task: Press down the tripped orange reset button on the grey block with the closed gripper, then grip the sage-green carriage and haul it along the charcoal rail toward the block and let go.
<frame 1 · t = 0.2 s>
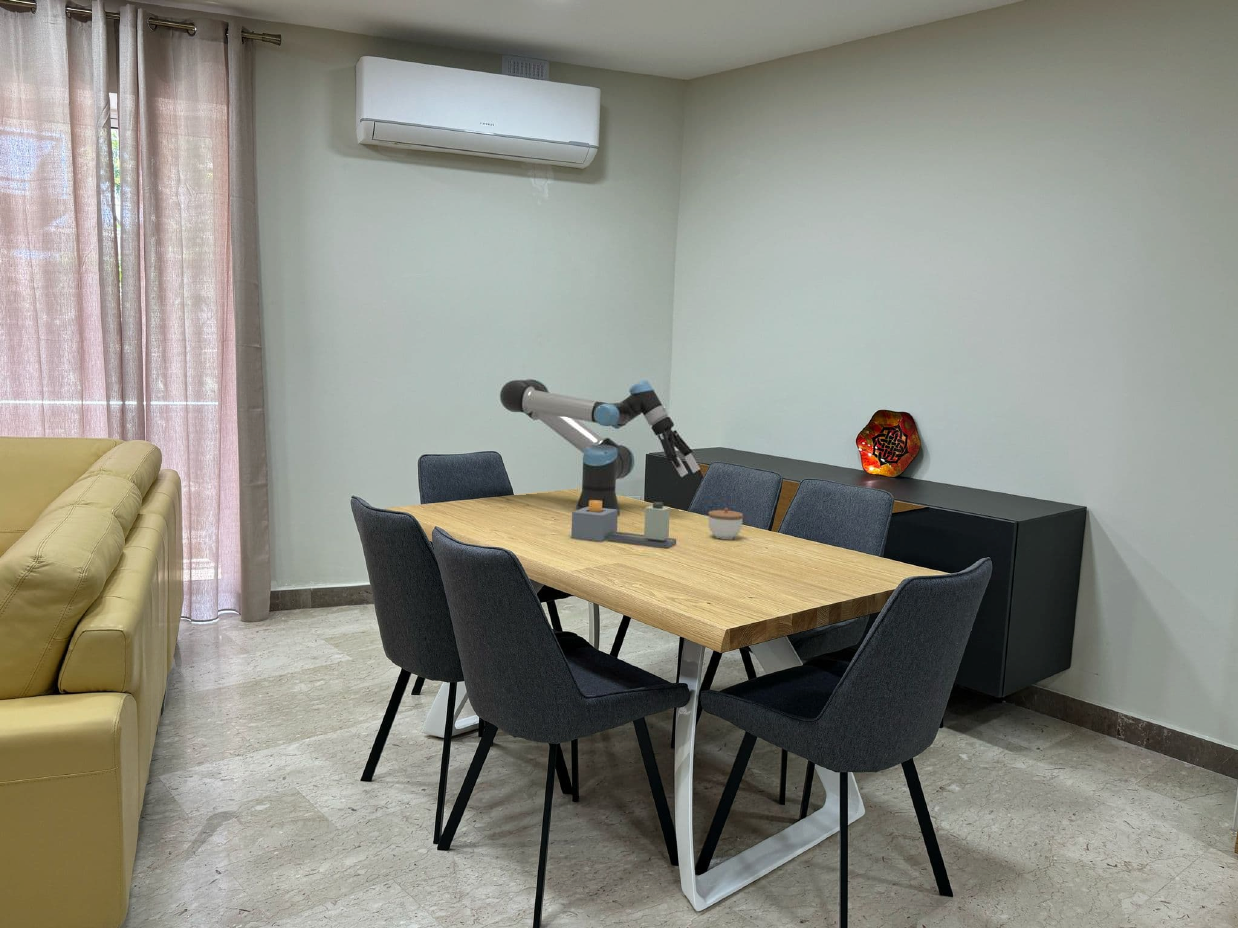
hand: (690, 473, 327), 15 cm above the table, tool tilted 35°, fingers open, 13 cm apart
carriage: (657, 520, 279), point 7 cm above the table, slide at 0.0 cm
lidded jar: (724, 538, 294), on the table
rail board: (641, 542, 281), on the table
reset button: (595, 510, 286), point 8 cm above the table, slide at 0.0 cm
grey block: (594, 536, 287), on the table
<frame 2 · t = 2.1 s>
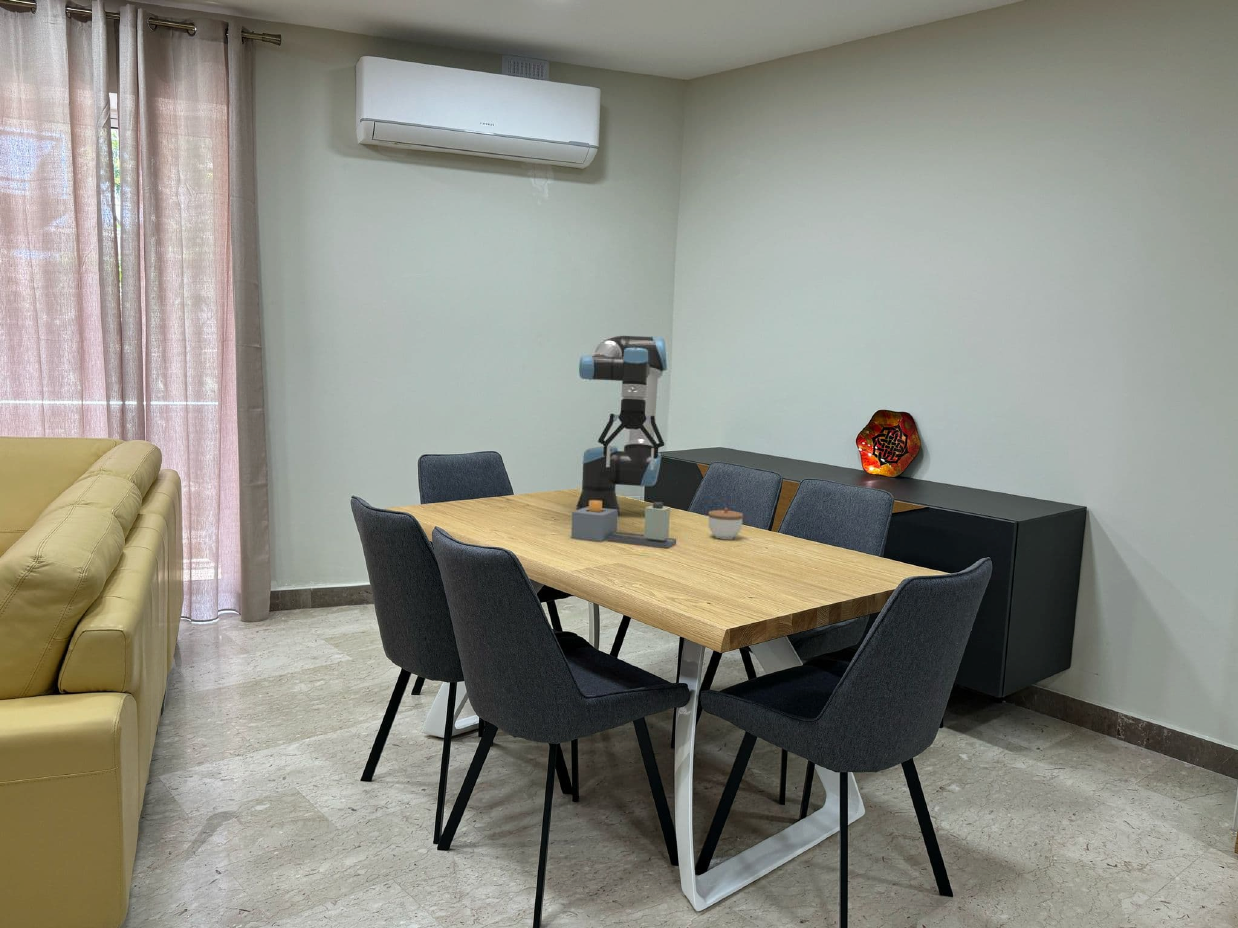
hand: (629, 468, 287), 21 cm above the table, tool pointing down, fingers open, 13 cm apart
nothing on the table moved.
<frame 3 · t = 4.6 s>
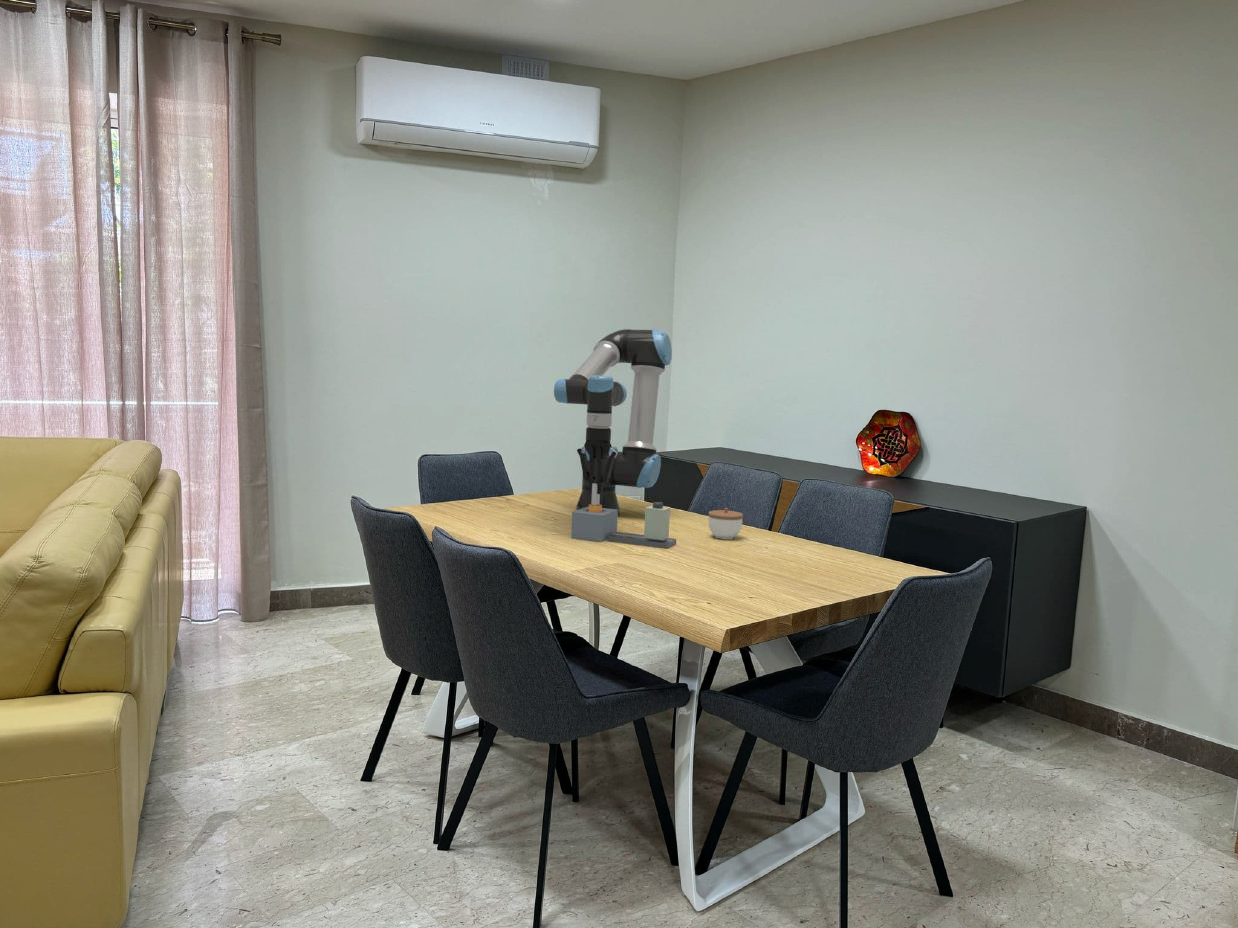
hand: (595, 504, 285), 10 cm above the table, tool pointing down, fingers closed
reset button: (595, 514, 286), point 7 cm above the table, slide at 1.3 cm, touching gripper
everything else where it was.
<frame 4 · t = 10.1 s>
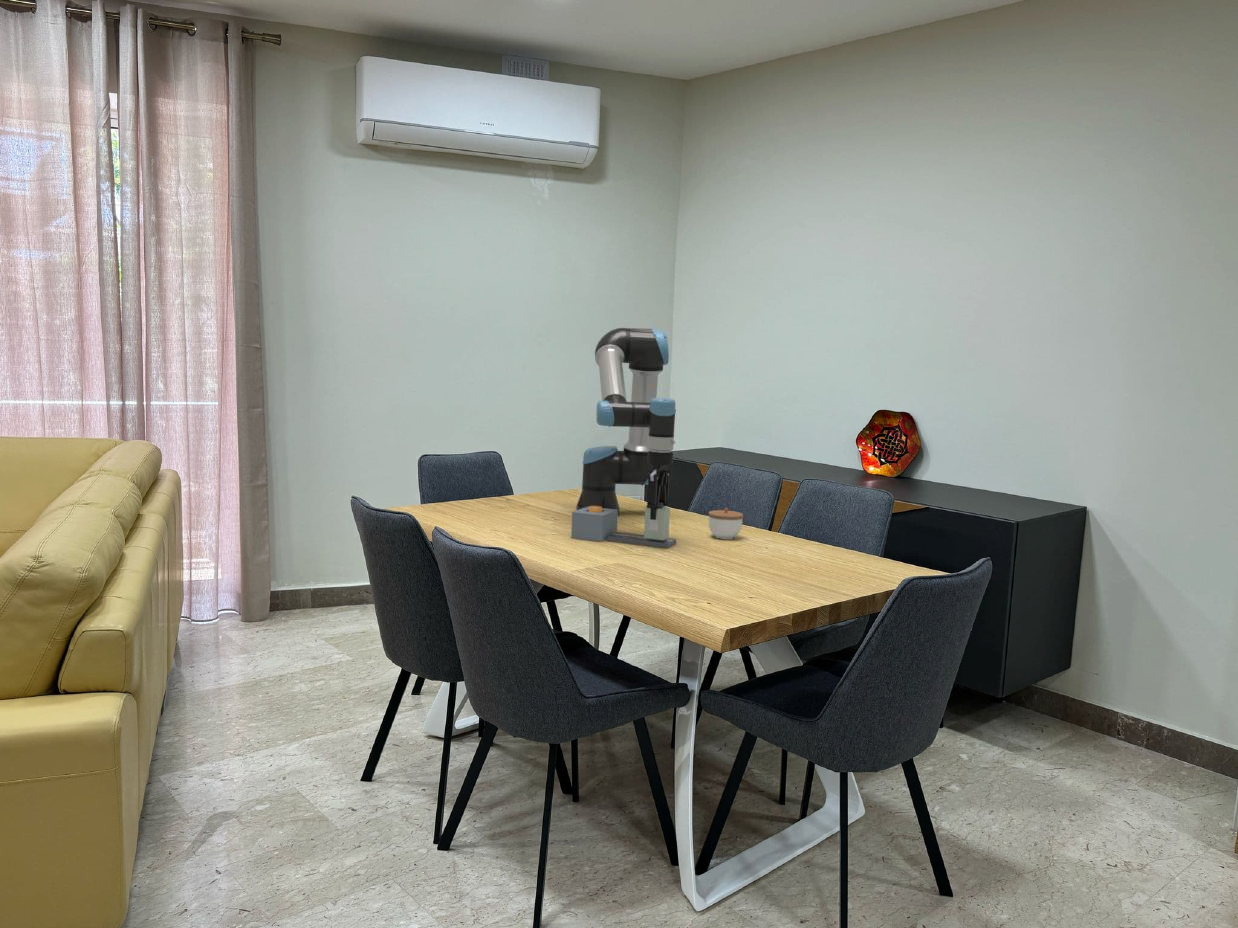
hand: (656, 528, 279), 5 cm above the table, tool pointing down, fingers closed on carriage, 5 cm apart
carriage: (657, 520, 279), point 7 cm above the table, slide at 0.0 cm, touching gripper
reset button: (595, 516, 286), point 6 cm above the table, slide at 1.8 cm
everything else where it was.
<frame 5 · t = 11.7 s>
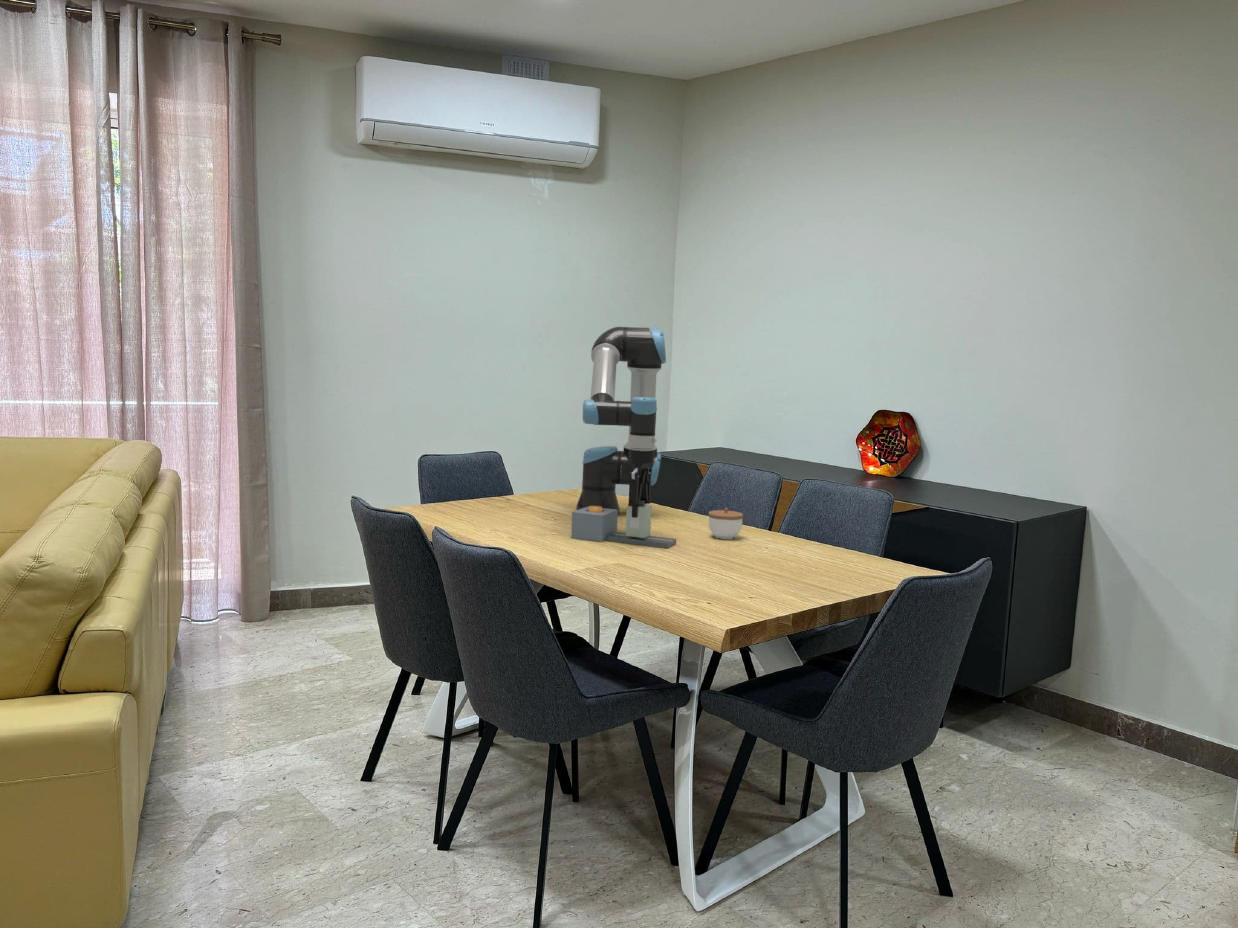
hand: (638, 526, 281), 5 cm above the table, tool pointing down, fingers closed on carriage, 5 cm apart
carriage: (638, 518, 281), point 7 cm above the table, slide at 5.9 cm, touching gripper
everything else where it was.
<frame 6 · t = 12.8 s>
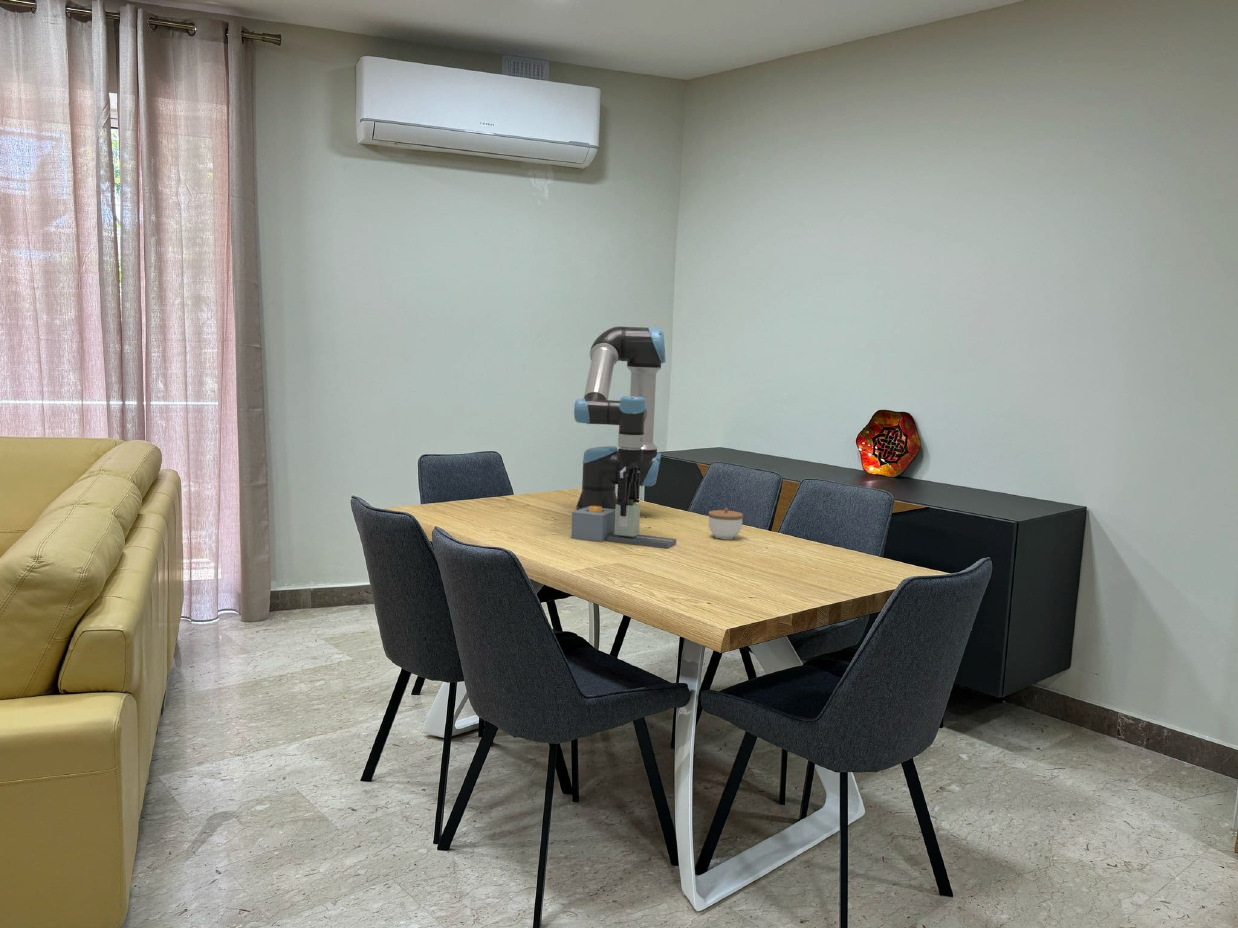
hand: (627, 525, 282), 5 cm above the table, tool pointing down, fingers closed on carriage, 5 cm apart
carriage: (627, 516, 282), point 7 cm above the table, slide at 9.4 cm, touching gripper
everything else where it was.
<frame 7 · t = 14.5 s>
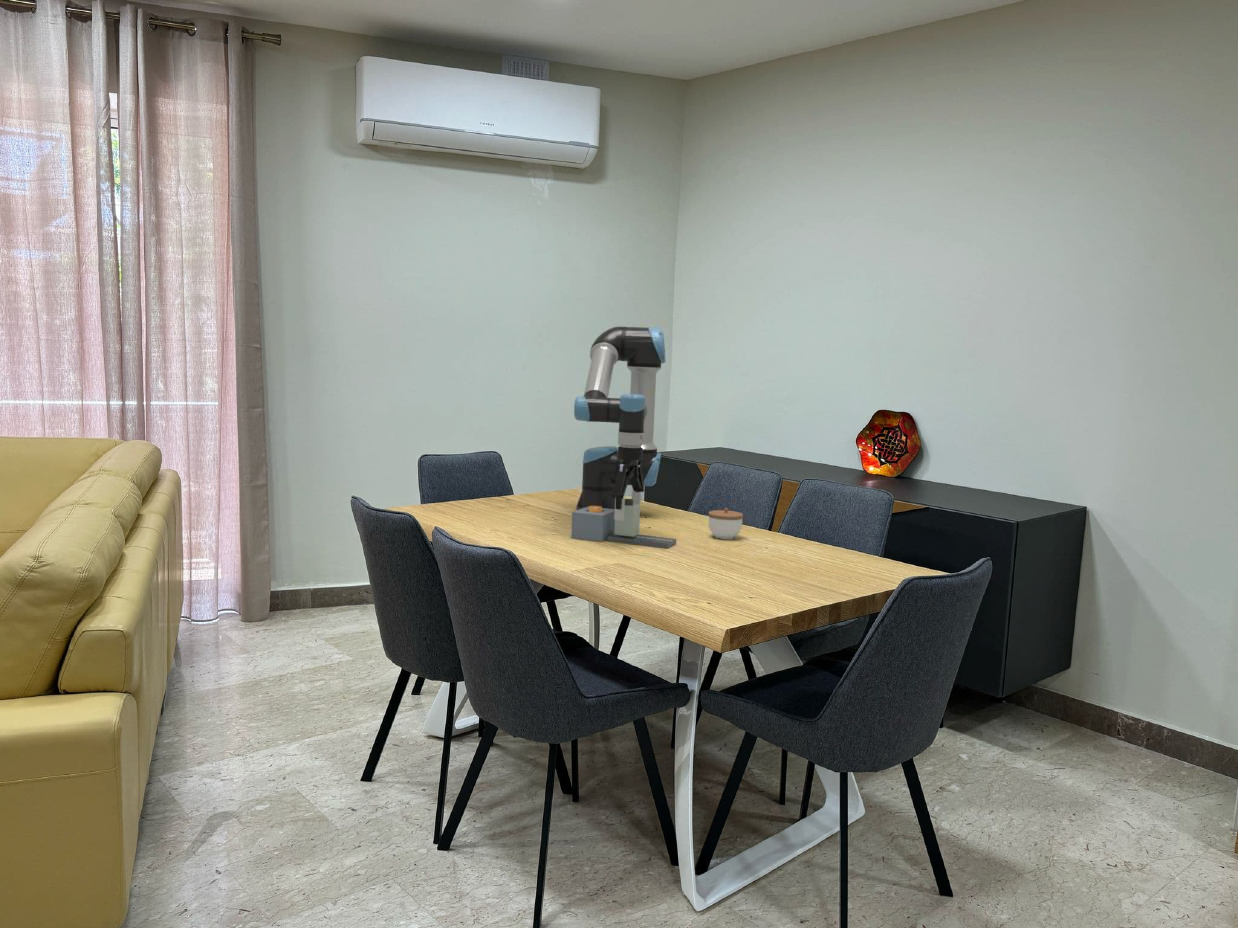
hand: (627, 516, 282), 7 cm above the table, tool pointing down, fingers open, 13 cm apart
carriage: (627, 516, 282), point 7 cm above the table, slide at 9.5 cm
everything else where it was.
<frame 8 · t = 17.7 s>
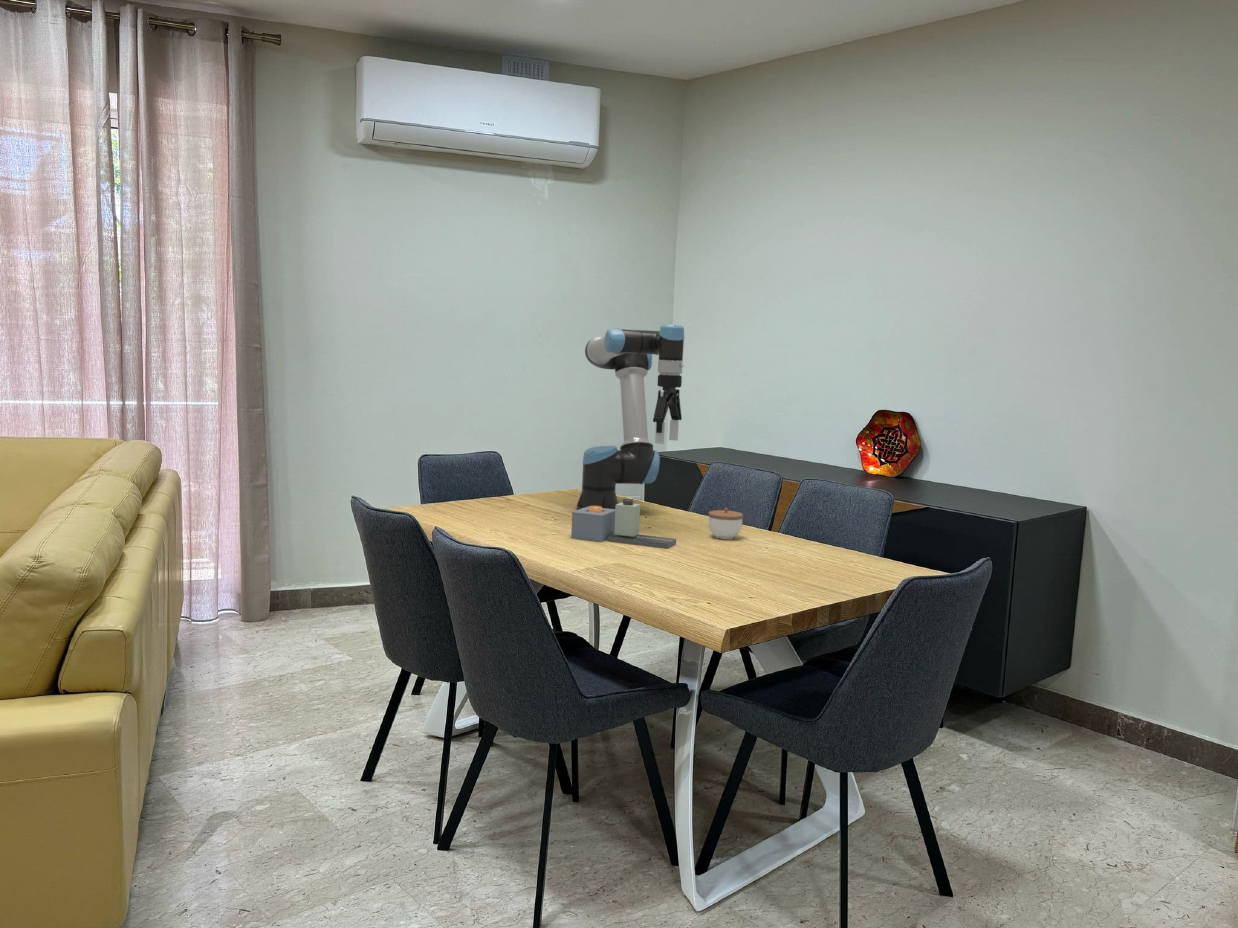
hand: (666, 442, 296), 29 cm above the table, tool pointing down, fingers open, 13 cm apart
nothing on the table moved.
at the end: reset button slide at 1.8 cm; carriage slide at 9.5 cm; the gripper is holding nothing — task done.
